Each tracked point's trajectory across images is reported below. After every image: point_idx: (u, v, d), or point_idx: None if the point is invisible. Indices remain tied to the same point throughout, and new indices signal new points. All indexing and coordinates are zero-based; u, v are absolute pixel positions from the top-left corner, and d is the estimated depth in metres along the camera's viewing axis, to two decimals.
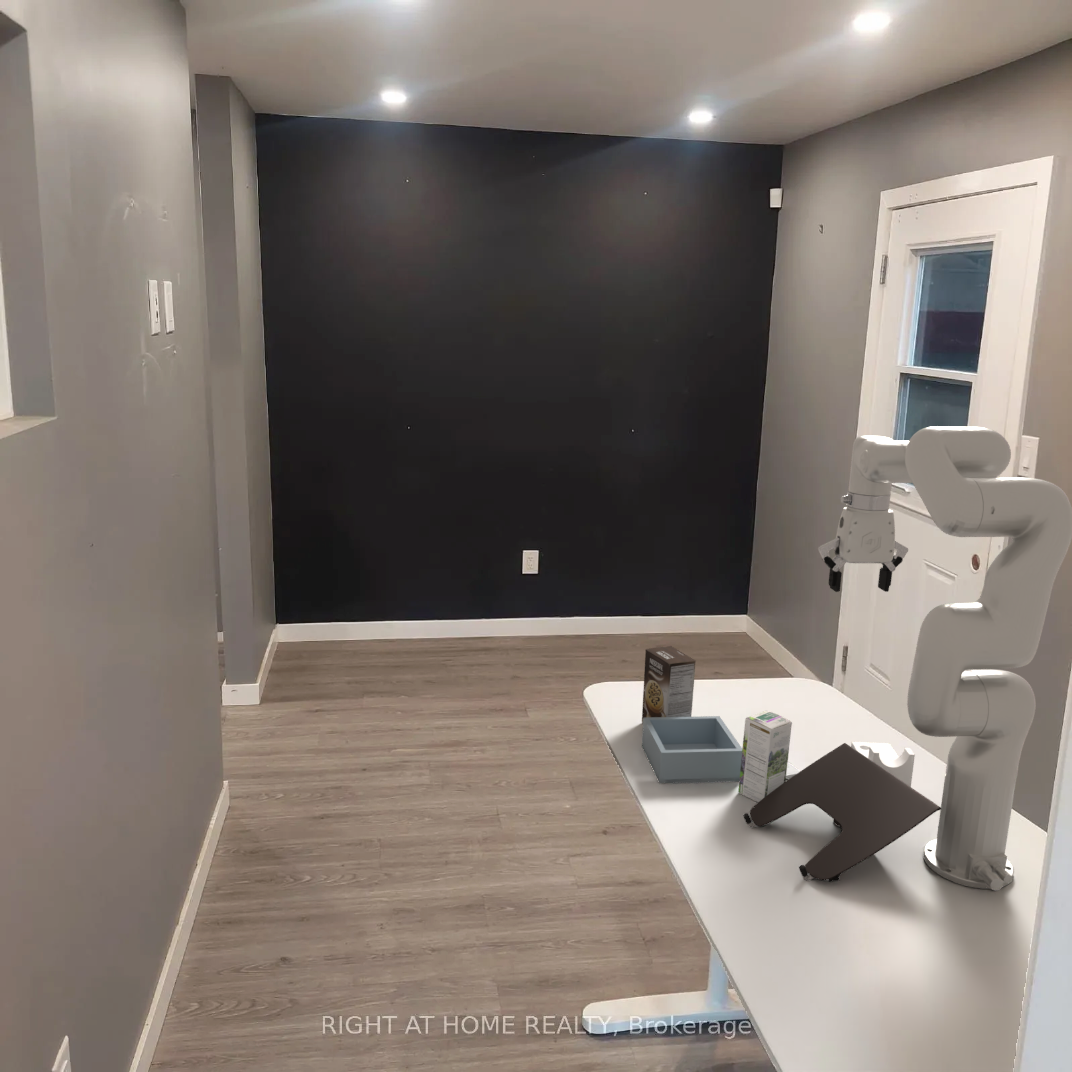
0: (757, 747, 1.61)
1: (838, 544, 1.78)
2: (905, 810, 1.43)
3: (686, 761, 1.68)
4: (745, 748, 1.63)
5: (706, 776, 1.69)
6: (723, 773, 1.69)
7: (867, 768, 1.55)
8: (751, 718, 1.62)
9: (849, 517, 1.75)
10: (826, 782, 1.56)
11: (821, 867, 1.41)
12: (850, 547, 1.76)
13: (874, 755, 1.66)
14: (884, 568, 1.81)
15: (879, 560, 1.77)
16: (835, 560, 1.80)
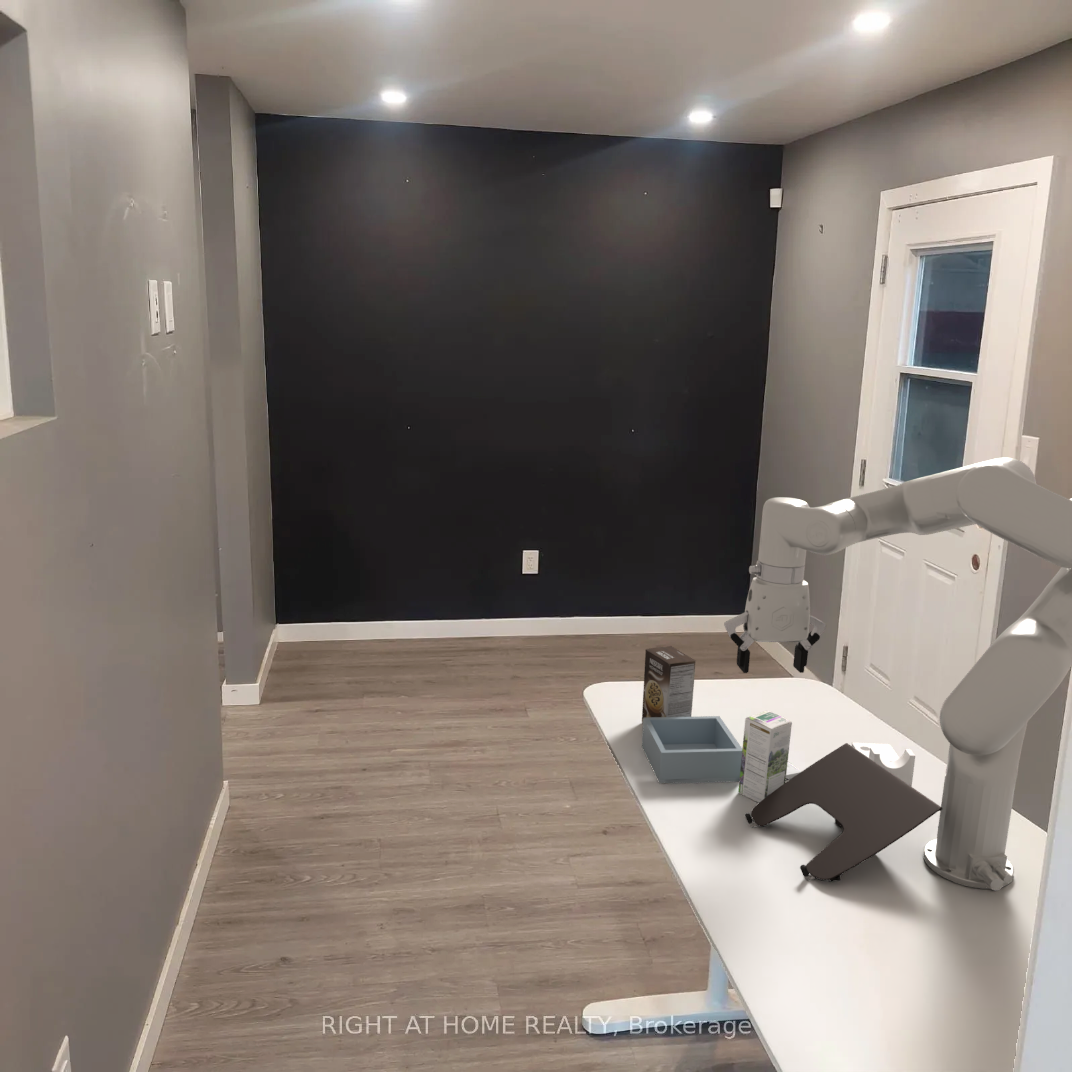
0: (757, 747, 1.61)
1: (746, 620, 1.57)
2: (907, 810, 1.43)
3: (686, 761, 1.68)
4: (745, 748, 1.63)
5: (706, 776, 1.69)
6: (723, 773, 1.69)
7: (869, 768, 1.55)
8: (751, 718, 1.62)
9: (757, 590, 1.54)
10: (828, 782, 1.56)
11: (822, 867, 1.41)
12: (759, 624, 1.55)
13: (875, 756, 1.66)
14: (799, 646, 1.60)
15: (792, 639, 1.56)
16: (744, 637, 1.59)
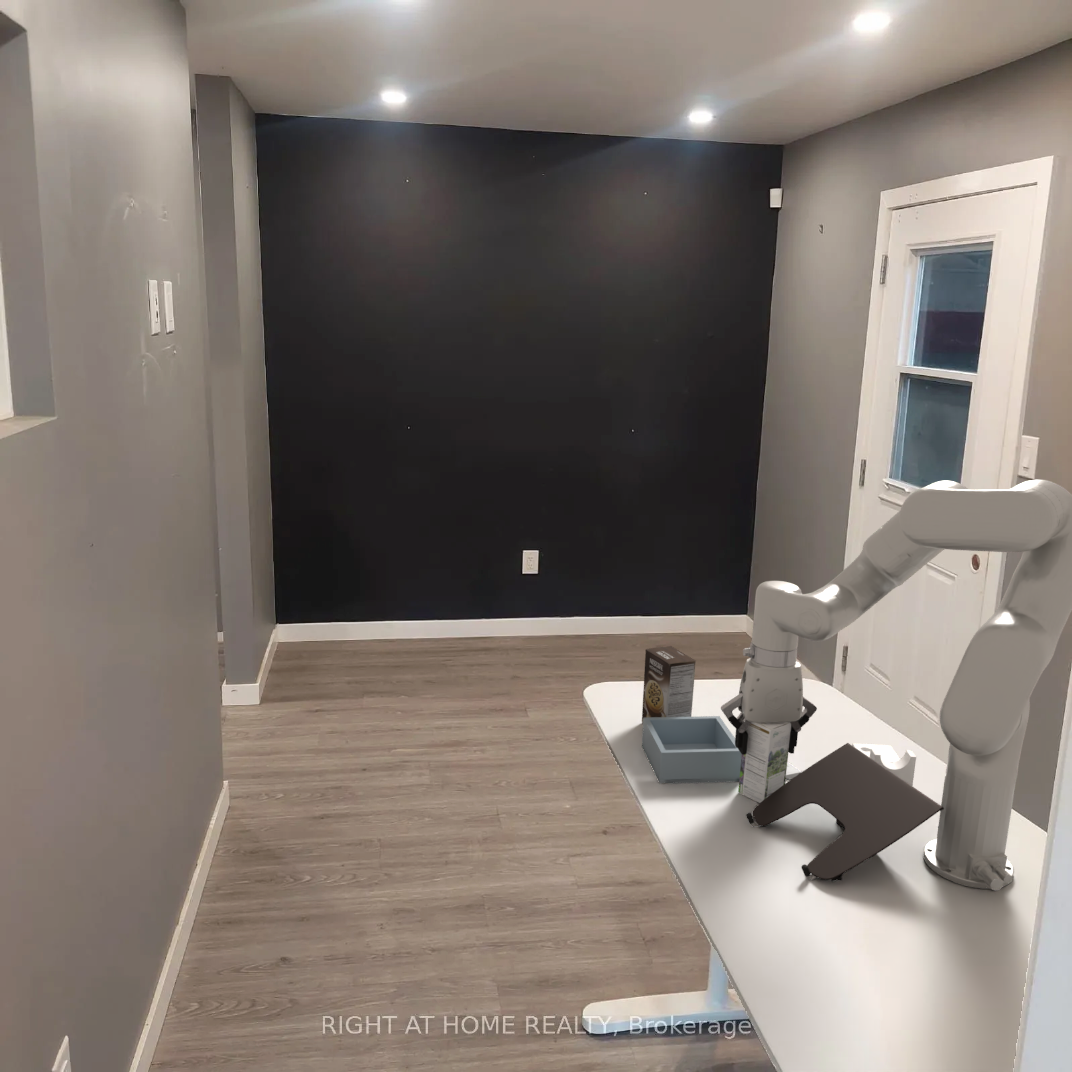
0: (757, 747, 1.61)
1: (740, 700, 1.60)
2: (908, 810, 1.44)
3: (686, 761, 1.68)
4: None
5: (706, 776, 1.69)
6: (723, 773, 1.69)
7: (870, 768, 1.55)
8: None
9: (751, 673, 1.57)
10: (829, 782, 1.56)
11: (824, 867, 1.41)
12: (753, 706, 1.58)
13: (876, 757, 1.66)
14: None
15: (786, 719, 1.59)
16: (741, 718, 1.62)
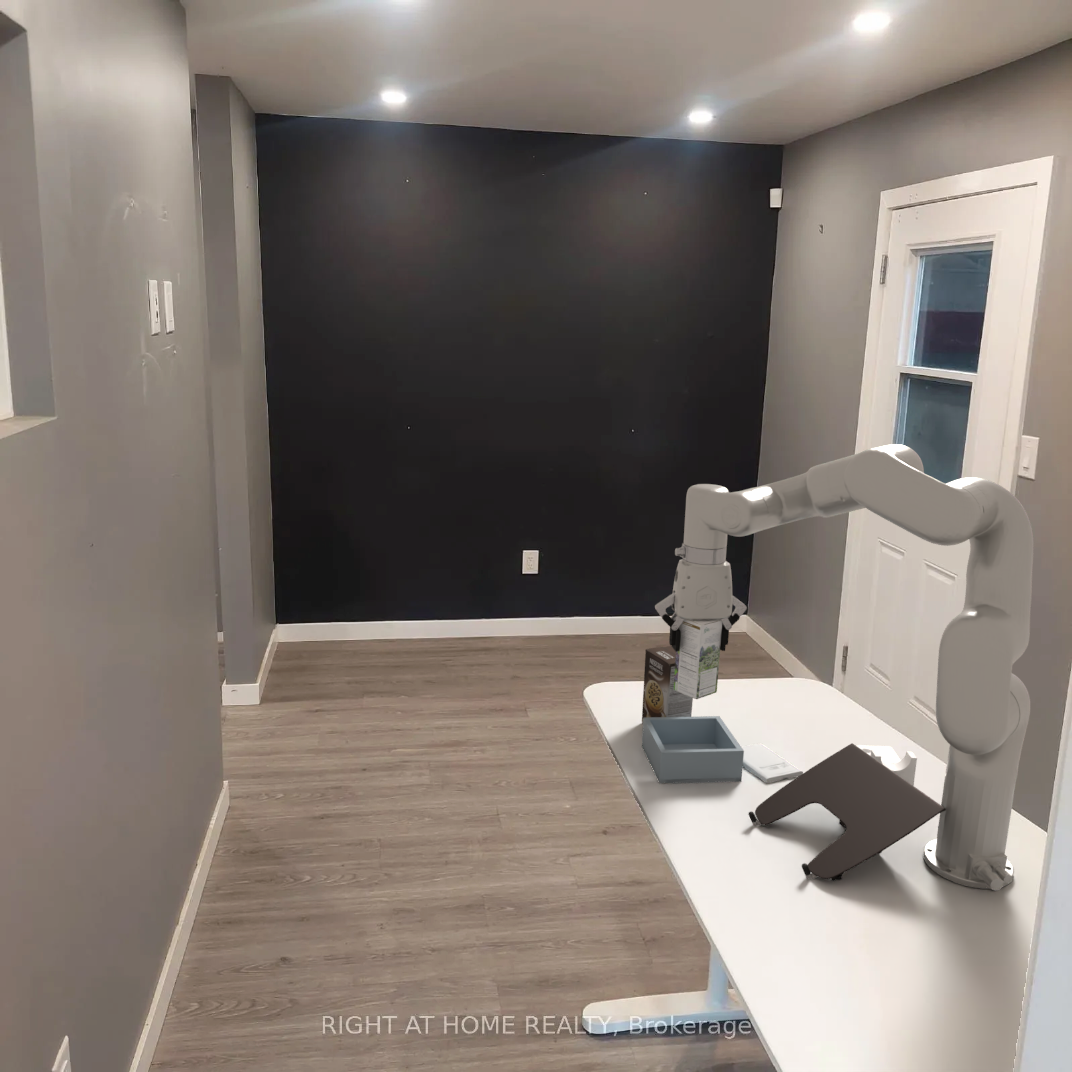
0: (689, 644, 1.69)
1: (673, 599, 1.68)
2: (910, 811, 1.43)
3: (686, 761, 1.68)
4: None
5: (706, 776, 1.69)
6: (723, 773, 1.69)
7: (873, 768, 1.55)
8: None
9: (682, 571, 1.65)
10: (832, 781, 1.56)
11: (824, 866, 1.41)
12: (684, 603, 1.66)
13: (876, 759, 1.65)
14: None
15: (716, 616, 1.67)
16: (675, 617, 1.70)
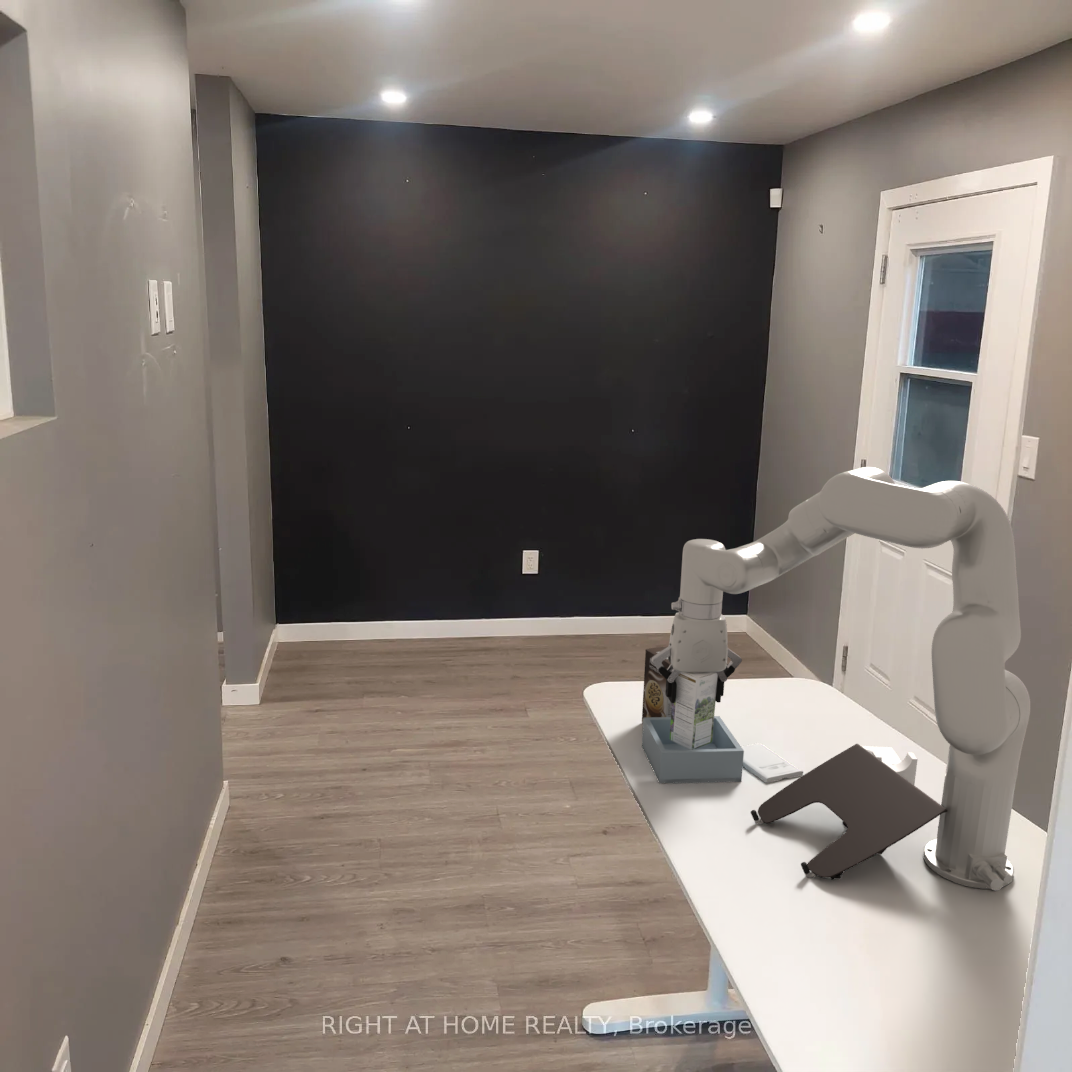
0: (685, 696, 1.71)
1: (669, 652, 1.70)
2: (911, 811, 1.43)
3: (686, 761, 1.68)
4: None
5: (706, 776, 1.69)
6: (723, 773, 1.69)
7: (877, 769, 1.54)
8: None
9: (678, 625, 1.68)
10: (836, 781, 1.56)
11: (823, 865, 1.41)
12: (680, 656, 1.68)
13: None
14: None
15: (711, 669, 1.69)
16: (671, 669, 1.73)
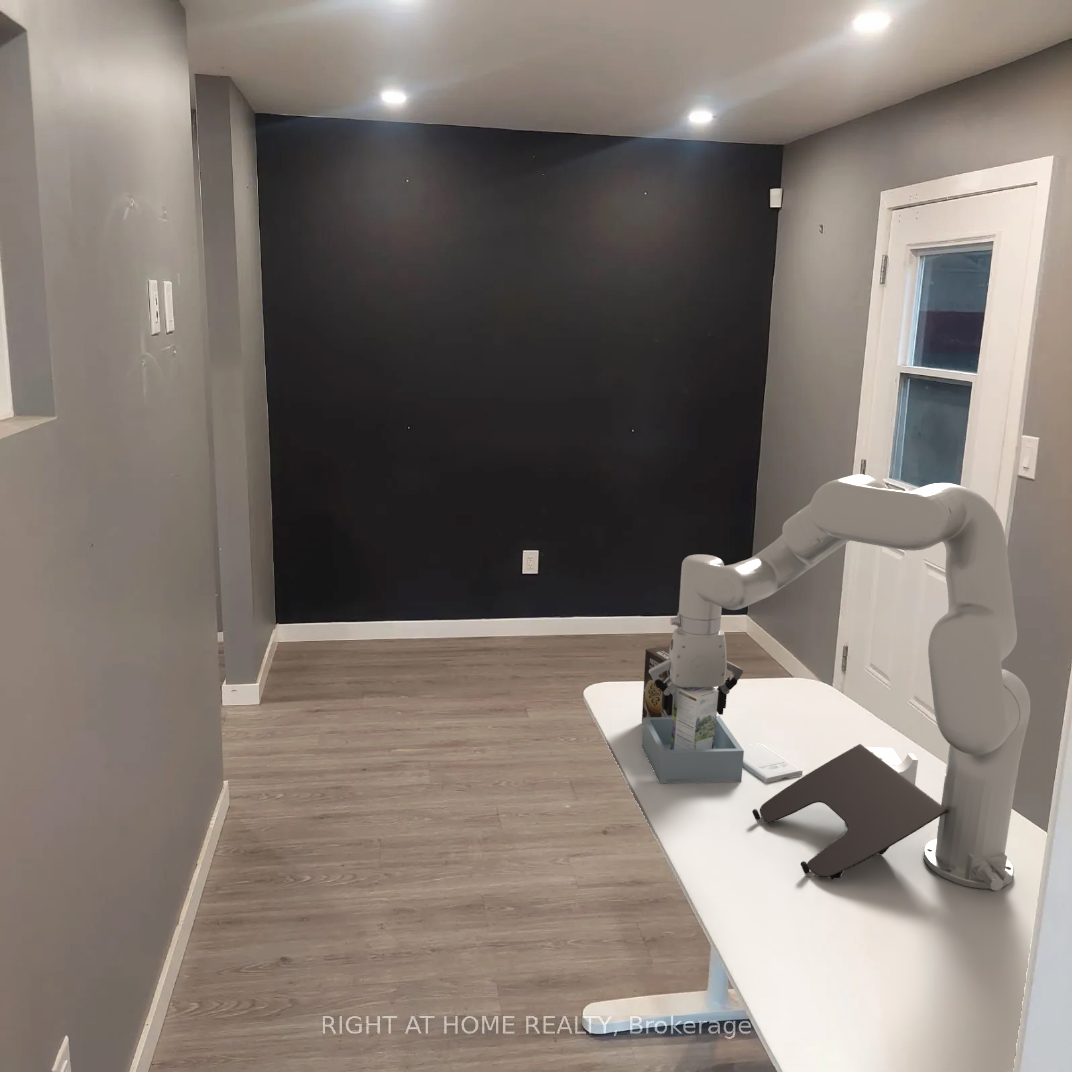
0: (685, 714, 1.72)
1: (668, 667, 1.71)
2: (912, 812, 1.43)
3: (686, 761, 1.68)
4: (675, 715, 1.74)
5: (706, 776, 1.69)
6: (723, 773, 1.69)
7: (879, 769, 1.54)
8: (680, 687, 1.73)
9: (677, 640, 1.68)
10: (838, 781, 1.56)
11: (823, 864, 1.41)
12: (679, 671, 1.69)
13: None
14: (719, 690, 1.74)
15: (710, 684, 1.70)
16: (668, 682, 1.73)
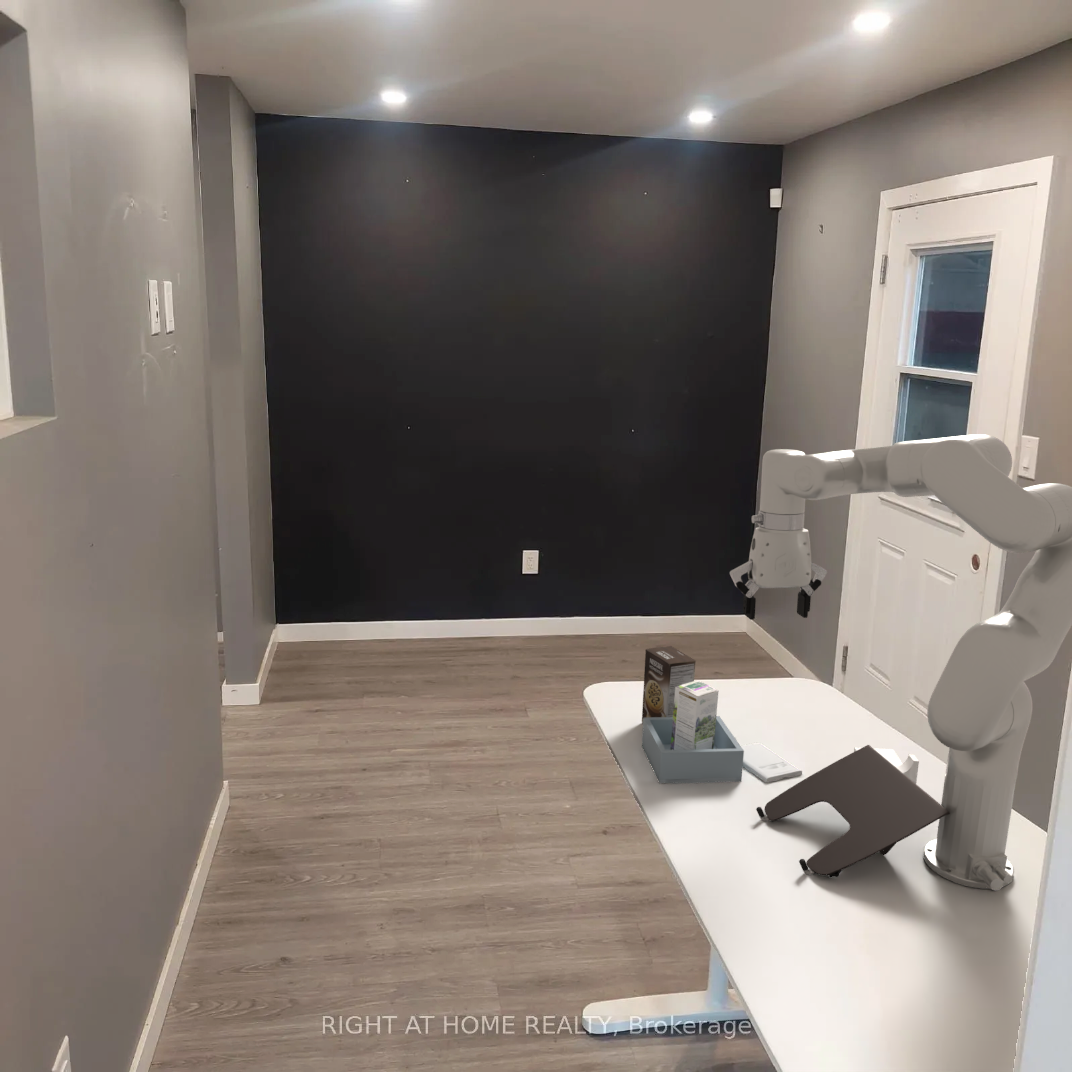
0: (685, 714, 1.72)
1: (751, 568, 1.64)
2: (914, 813, 1.43)
3: (686, 761, 1.68)
4: (675, 715, 1.74)
5: (706, 776, 1.69)
6: (723, 773, 1.69)
7: (885, 770, 1.54)
8: (680, 687, 1.73)
9: (760, 538, 1.61)
10: (843, 781, 1.56)
11: (822, 863, 1.42)
12: (763, 571, 1.62)
13: None
14: (802, 592, 1.67)
15: (795, 584, 1.63)
16: (749, 585, 1.66)
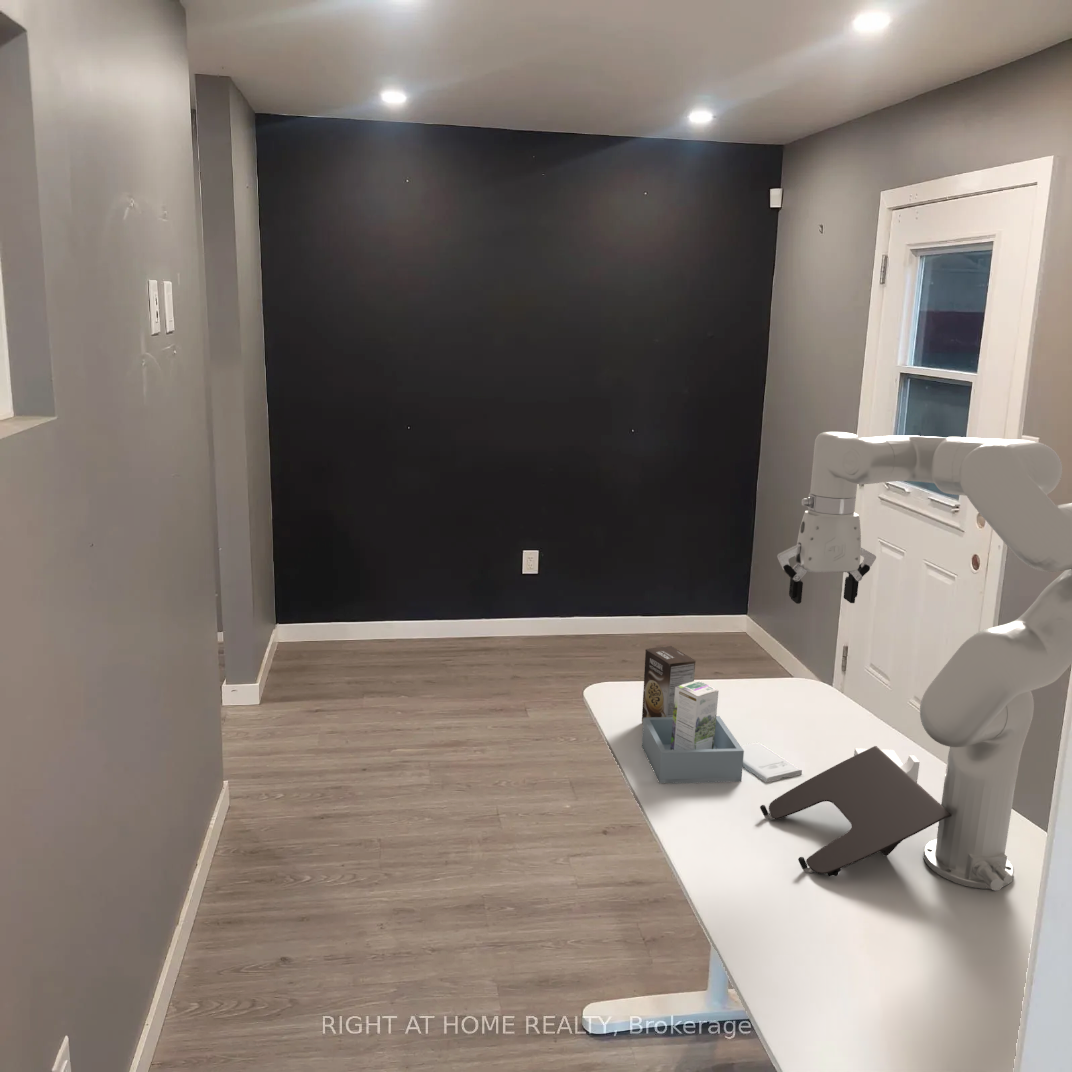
0: (685, 714, 1.72)
1: (799, 551, 1.62)
2: (916, 814, 1.42)
3: (686, 761, 1.68)
4: (675, 715, 1.74)
5: (706, 776, 1.69)
6: (723, 773, 1.69)
7: (890, 771, 1.54)
8: (680, 687, 1.73)
9: (810, 521, 1.59)
10: (848, 782, 1.56)
11: (822, 861, 1.42)
12: (812, 555, 1.60)
13: None
14: (850, 577, 1.65)
15: (844, 569, 1.61)
16: (796, 569, 1.64)
